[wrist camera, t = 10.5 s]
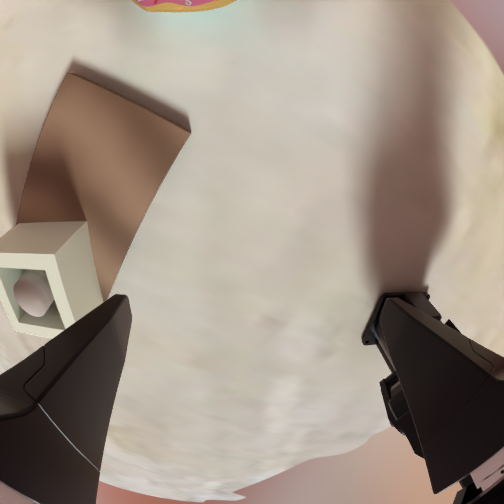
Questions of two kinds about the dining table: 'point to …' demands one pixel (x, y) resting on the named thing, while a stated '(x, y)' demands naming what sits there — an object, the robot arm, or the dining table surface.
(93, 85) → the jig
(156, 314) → the dining table surface
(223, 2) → the cupcake
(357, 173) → the dining table surface
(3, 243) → the square hollow sleeve
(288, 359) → the dining table surface
